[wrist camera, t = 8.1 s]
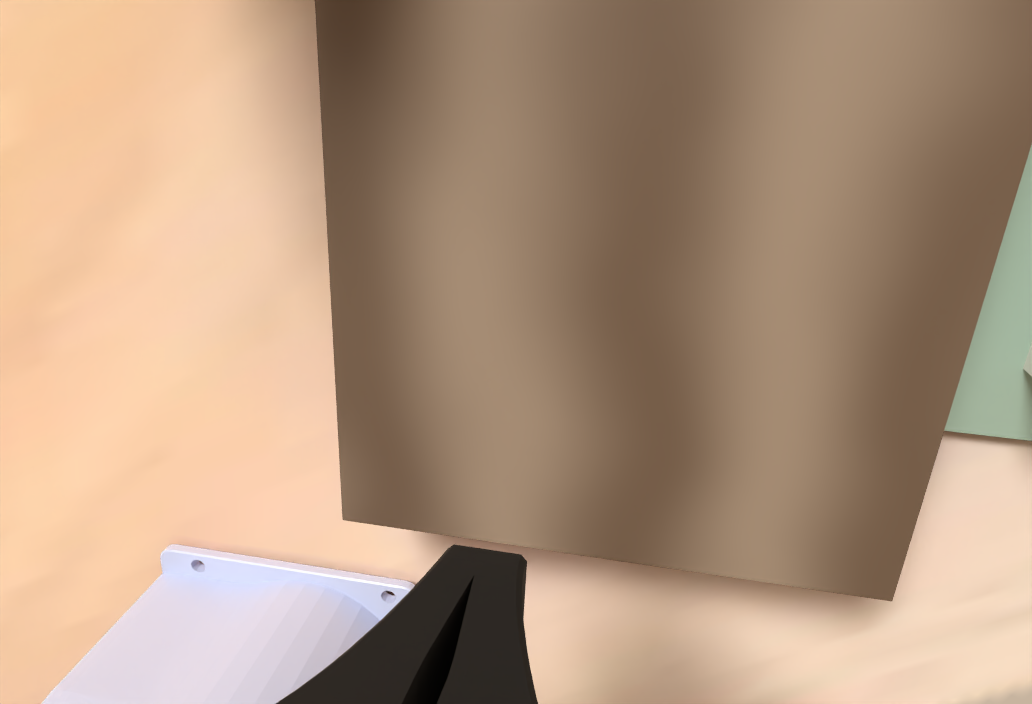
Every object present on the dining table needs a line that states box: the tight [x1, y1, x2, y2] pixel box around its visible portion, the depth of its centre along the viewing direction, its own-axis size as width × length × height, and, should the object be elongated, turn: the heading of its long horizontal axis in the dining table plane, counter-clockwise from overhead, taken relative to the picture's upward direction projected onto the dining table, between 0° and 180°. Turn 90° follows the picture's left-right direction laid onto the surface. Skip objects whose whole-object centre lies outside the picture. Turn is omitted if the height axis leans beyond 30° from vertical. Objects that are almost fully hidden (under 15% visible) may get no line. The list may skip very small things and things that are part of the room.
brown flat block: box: [315, 0, 1032, 601], centre depth 18 cm, size 14×16×4 cm
